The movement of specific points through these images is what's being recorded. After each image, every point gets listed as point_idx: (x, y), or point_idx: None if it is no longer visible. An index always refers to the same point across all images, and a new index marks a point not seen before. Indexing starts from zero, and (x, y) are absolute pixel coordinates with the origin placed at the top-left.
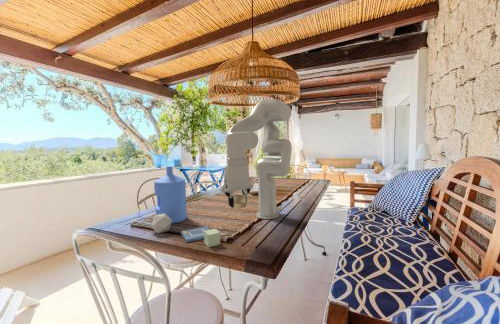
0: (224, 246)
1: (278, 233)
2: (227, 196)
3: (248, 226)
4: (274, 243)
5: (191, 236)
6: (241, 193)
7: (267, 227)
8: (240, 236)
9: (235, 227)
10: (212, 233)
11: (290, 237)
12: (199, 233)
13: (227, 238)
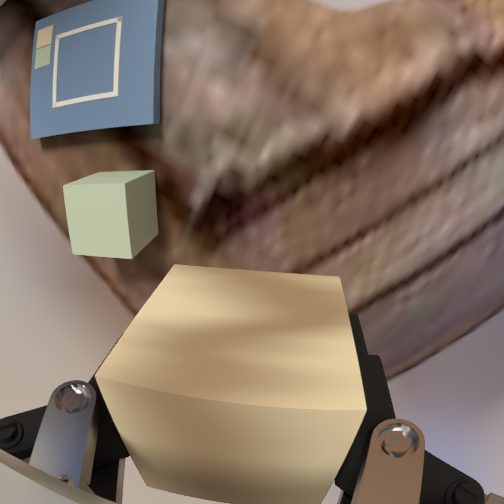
0: (170, 264)
1: (474, 276)
2: (65, 387)
3: (422, 88)
4: (382, 349)
5: (52, 109)
6: (348, 446)
7: (492, 177)
8: (298, 198)
9: (341, 49)
10: (94, 247)
11: (469, 333)
12: (89, 82)
13: (218, 183)
